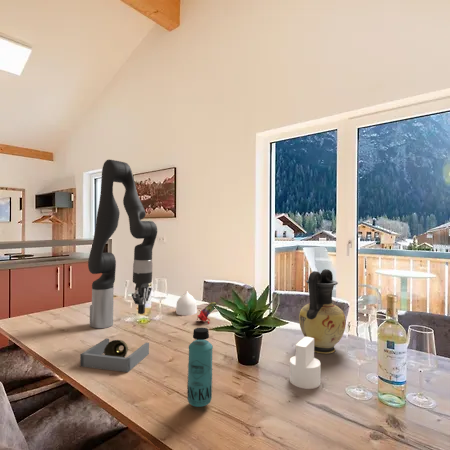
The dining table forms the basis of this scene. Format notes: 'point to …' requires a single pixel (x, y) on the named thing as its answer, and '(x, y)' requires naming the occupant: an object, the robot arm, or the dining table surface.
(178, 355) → the dining table surface
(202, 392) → the beverage bottle
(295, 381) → the cylinder with rectangular tab
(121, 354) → the cup
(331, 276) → the amphora
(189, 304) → the teardrop
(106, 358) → the box
